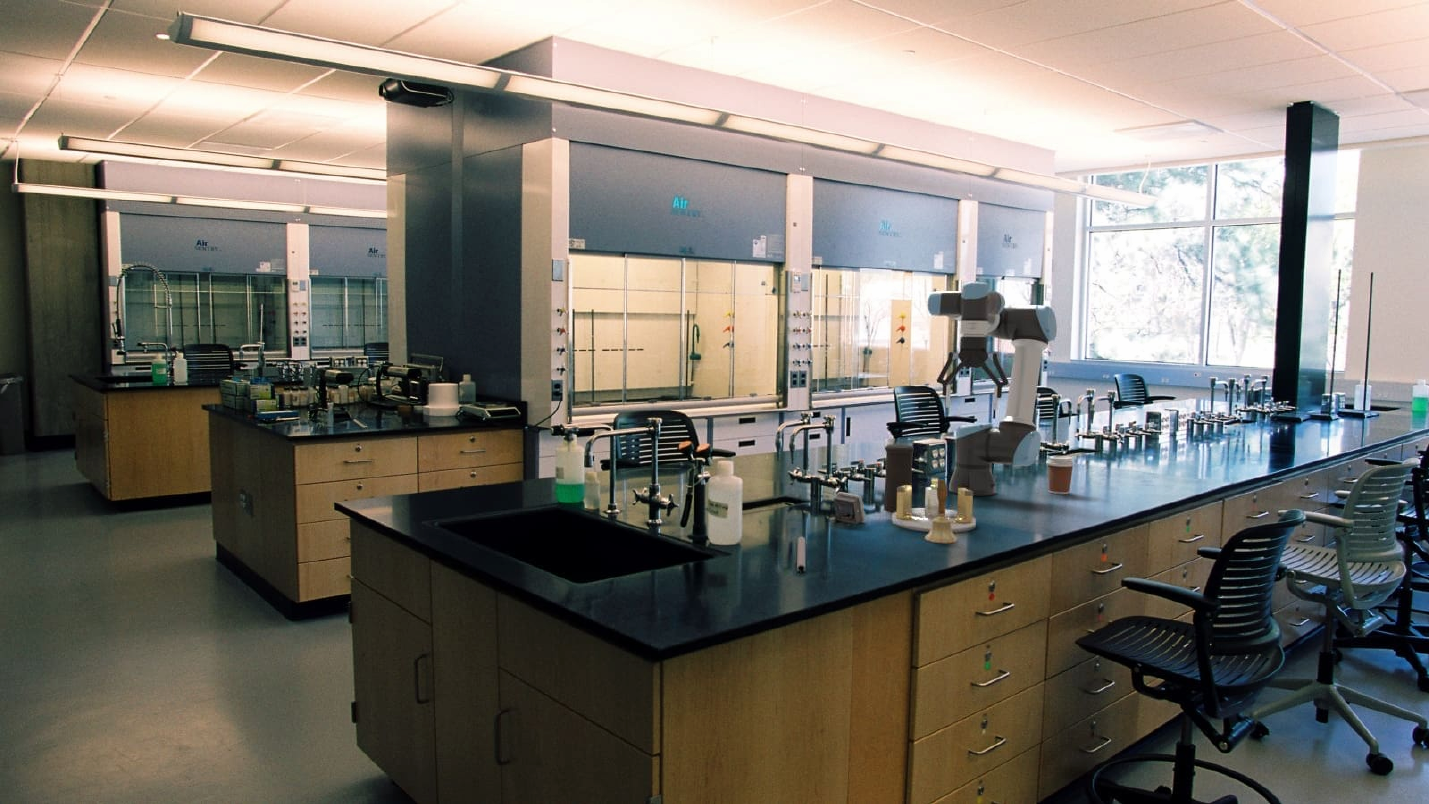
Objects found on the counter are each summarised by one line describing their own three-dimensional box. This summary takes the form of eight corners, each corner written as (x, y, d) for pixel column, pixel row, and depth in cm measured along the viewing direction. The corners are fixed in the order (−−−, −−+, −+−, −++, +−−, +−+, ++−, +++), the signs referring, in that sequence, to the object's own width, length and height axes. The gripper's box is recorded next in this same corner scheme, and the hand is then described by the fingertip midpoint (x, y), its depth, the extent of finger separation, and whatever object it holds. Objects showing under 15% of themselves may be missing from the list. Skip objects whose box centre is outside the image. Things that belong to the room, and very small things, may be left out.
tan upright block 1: (900, 515, 256) (901, 484, 256) (915, 517, 254) (915, 485, 253) (891, 518, 252) (892, 487, 251) (906, 520, 249) (907, 488, 248)
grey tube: (796, 573, 205) (797, 564, 205) (797, 544, 232) (797, 536, 232) (805, 573, 205) (805, 564, 205) (805, 544, 232) (805, 536, 232)
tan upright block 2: (952, 519, 251) (953, 487, 250) (967, 518, 252) (968, 487, 251) (961, 523, 246) (962, 491, 245) (976, 523, 246) (977, 491, 246)
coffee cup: (1069, 490, 308) (1070, 455, 307) (1077, 495, 299) (1078, 459, 298) (1041, 489, 309) (1043, 455, 308) (1048, 494, 300) (1050, 459, 299)
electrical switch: (866, 522, 256) (864, 494, 254) (856, 526, 253) (854, 498, 251) (842, 518, 262) (841, 490, 260) (832, 521, 259) (831, 494, 257)
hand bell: (951, 545, 231) (953, 483, 229) (920, 540, 235) (922, 480, 234) (961, 538, 238) (963, 478, 236) (930, 534, 242) (932, 475, 241)
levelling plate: (880, 515, 265) (881, 479, 264) (953, 513, 269) (954, 477, 268) (910, 534, 242) (912, 494, 241) (990, 531, 246) (991, 492, 245)
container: (915, 508, 276) (916, 443, 275) (908, 513, 268) (910, 447, 267) (887, 505, 280) (888, 441, 278) (879, 510, 272) (881, 445, 270)
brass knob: (941, 511, 261) (942, 481, 261) (926, 510, 262) (927, 480, 262) (941, 507, 267) (942, 478, 266) (926, 506, 268) (927, 477, 267)
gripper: (928, 335, 264) (926, 407, 266) (1017, 336, 254) (1014, 411, 256) (932, 335, 271) (930, 405, 273) (1020, 336, 261) (1017, 409, 263)
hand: (971, 408), depth 265 cm, fingers open, 13 cm apart
